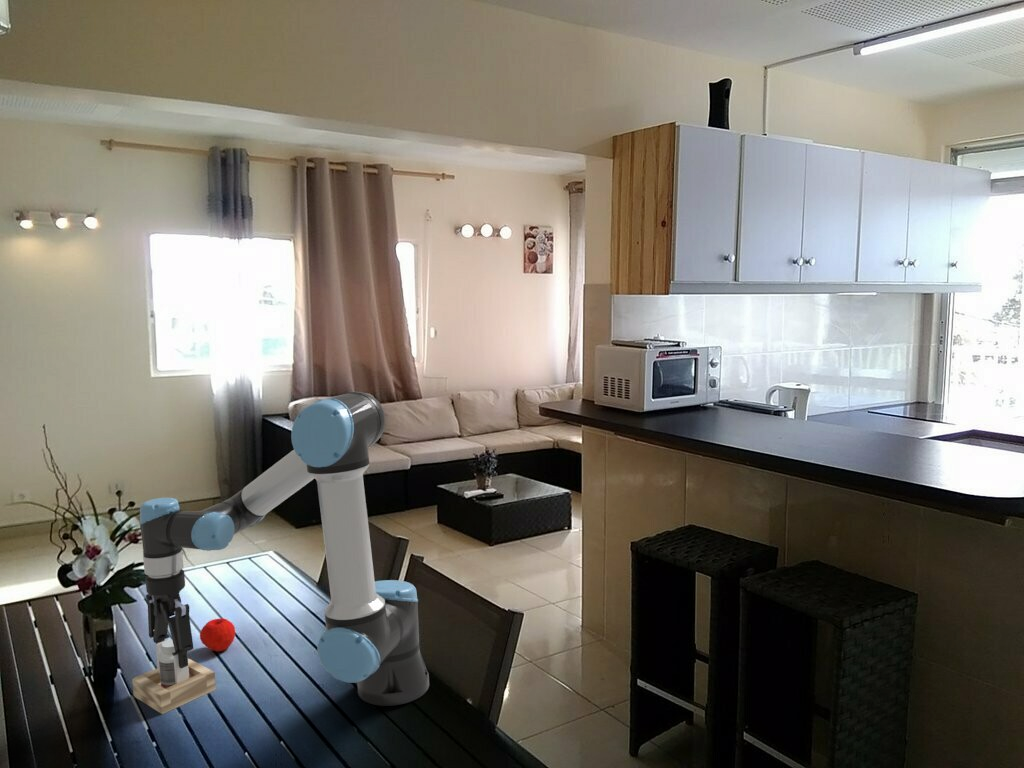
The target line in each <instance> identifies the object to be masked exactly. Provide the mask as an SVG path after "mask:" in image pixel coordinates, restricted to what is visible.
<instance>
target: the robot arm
mask: <svg viewBox="0 0 1024 768" xmlns="http://www.w3.org/2000/svg"><path fill="white" fill-rule="evenodd" d="M386 419H387V418H386V413H385V410H384V408H383V406H382V404H381V403H380V402H379V400H378V399H376V398H375V396H373V395H371V394H369V393H367V392H362V391H350V392H346V393H343V394H339V395H335V396H332V397H331V396H330V397H327V398H323V399H319V400H316V401H315V402H313V403H311V404H309V405H307V406H305V407H304V408H303V409H302V410H300V412H299V413H298V415H296V416H295V419H294V421H293V423H292V428H291V435H290V436H291V444H292V447H293V450H291V451H290V452H289V453H288V454H286V455H285V456H284V457H282V458H281V459H280V460H278V461H277V462H275V463H274V464H273V465H272V466H270V467H269V468H267V470H265V471H264V472H262V473H261V474H260V475H259V476H257V477H256V478H255V479H253V480H252V481H251V482H250V483H248V484H247V485H246V486H244V487H243V488H242V489H241V490H239V491H238V492H237V493H235V494H234V495H232V496H231V497H230V498H228V499H225V500H224V501H221V502H218V503H216V504H214V505H212V506H209V507H207V508H204V509H202V510H197V511H194V510H193V511H192V510H190V511H189V510H182V509H180V507H181V506H180V505H179V501H178V500H177V499H176V498H174V497H158V498H152V499H149V500H147V501H144V502H143V503H141V505H140V508H139V525H140V534H141V544H142V559H143V570H144V574H145V575H146V576H145V578H144V580H145V591H146V593H147V594H146V595H145V600H146V603H147V620H148V621H147V623H148V636H149V638H150V639H152V642H154V644H155V653H156V662H157V668H158V673H159V674H160V668H159V656H160V654H161V653H162V650H161V649H162V648H161V645H162V643H163V642H165V641H168V640H169V639H170V638H171V640H172V641H173V645H174V648H175V652H174V653H172V655H173V659H174V671H175V683H179V682H182V681H184V680H186V679H189V667H188V658H189V657H188V656H189V655H188V652H190V651H193V650H194V642H193V634H192V628H191V621H190V619H191V618H190V605H189V603H187V604H183V603H182V599H181V596H180V592H181V591H182V590H183V589H185V587H186V577H185V571H184V558H183V556H184V555H185V553H184V551H183V548H184V549H194V550H201V551H207V552H209V551H221V550H224V549H226V548H227V547H228V546H229V543H230V542H232V541H233V538H234V535H235V534H238V533H240V532H241V531H244V530H246V529H248V528H252V527H254V526H256V525H257V524H258V523H260V522H261V521H262V520H263V519H264V518H265V516H266V515H267V514H268V513H270V512H271V511H272V510H273V509H275V508H276V507H278V506H279V505H281V504H282V503H283V502H285V500H287V499H288V498H290V497H291V496H292V495H294V494H295V493H297V492H298V491H300V490H301V489H302V488H303V487H305V486H307V484H309V483H310V482H312V481H314V479H315V480H316V485H317V493H318V502H319V508H320V509H319V510H320V517H321V518H320V519H321V525H322V526H321V528H322V533H323V543H324V552H325V558H326V569H327V575H328V576H327V577H328V583H329V592H330V593H329V594H330V600H331V601H330V602H329V603H328V604H327V606H326V607H325V609H324V620H325V629H326V631H324V632H323V633H322V635H321V636H320V639H319V641H318V643H317V648H316V649H317V650H316V651H317V656H318V659H319V662H320V663H321V666H322V668H323V669H324V670H325V671H326V672H327V673H329V674H330V675H331V676H332V678H334V679H336V680H338V681H340V682H344V683H350V684H351V683H352V684H353V683H357V684H356V685H357V694H358V696H359V698H360V699H361V700H362V701H363V702H365V703H368V704H371V705H375V706H380V707H385V706H386V707H390V706H391V707H392V706H400V705H403V704H408V703H410V702H414V701H415V700H417V699H420V698H421V697H422V696H424V695H425V694H426V692H427V691H428V690H429V687H430V676H429V675H430V674H429V671H428V669H427V667H426V663H425V661H424V658H423V656H422V654H421V651H420V650H421V649H420V632H419V630H420V629H419V628H420V626H419V608H418V607H419V605H418V604H419V603H418V602H419V599H418V595H417V592H418V591H417V588H416V587H415V586H414V584H413V583H411V582H408V581H405V580H396V579H389V580H388V579H387V580H386V579H385V580H376V581H375V573H374V564H373V562H374V561H373V555H372V546H371V545H372V544H371V538H370V528H369V527H370V526H369V518H368V508H367V503H366V502H367V501H366V500H367V499H366V493H365V491H366V490H365V485H364V473H365V472H366V470H367V469H368V468H369V467H370V457H369V447H370V446H373V445H374V444H376V443H377V442H378V441H379V439H380V438H381V437H382V435H383V433H384V432H385V428H386V422H387V420H386ZM168 630H169V633H170V634H169V633H168ZM170 635H171V636H170Z"/></svg>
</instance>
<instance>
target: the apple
mask: <svg viewBox="0 0 1024 768" xmlns="http://www.w3.org/2000/svg"><path fill="white" fill-rule="evenodd" d="M235 628H236V627H235V625H234V624H233V623H232V622H231V621H230V620H228V619H227V618H221V617H220V618H214V619H211V620H209V621H208V622H206V623H205V625H204V626H203V627H202V628H201V630H200V633H199V639H200V641H201V643H202V644H203V645H204V646H206V647H207V649H209V650H211V651H213V652H223V651H225V650H228V648H229V647H231V645H232V644H233V642H234V640H235V637H236V629H235Z"/></svg>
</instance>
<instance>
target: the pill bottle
mask: <svg viewBox="0 0 1024 768" xmlns="http://www.w3.org/2000/svg"><path fill="white" fill-rule="evenodd" d="M167 640H168V641H165V642H163V643H162V645H161V648H162V649H161V650H162V653H161V654H160V656H159V668H160V680H161V687H163V688H168V687H170V686H172V685H175V684H177V683H175V671H174V659H173V655H172V653H174V652H175V648H174V645H173V641H172V639H167Z"/></svg>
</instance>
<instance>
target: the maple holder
mask: <svg viewBox="0 0 1024 768" xmlns="http://www.w3.org/2000/svg"><path fill="white" fill-rule="evenodd" d="M188 667H189V679H186V680H184V681H182V682H179V683H177V684H175V685H172V686H170V687H168V688H163V687H161V680H160V674H159V673H158V667H157V668H154V669H152V670H149V671H147V672H145V673H143V674H140V675H138V676H135V677H133V678H131V680H132V692H133V697H134V698H135V699H137V700H139V701H141V702H142V703H144V704H146V705H147V706H149V707H150V708H152V709H153V710H155V711H156V712H158V713H159V714H161V715H163V714H165V713H167V712H170V711H173V710H174V709H177V708H179V707H181V706H183V705H185V704H188V703H189V702H192V701H194V700H196V699H198V698H201V697H203V696H205V695H207V694H210V693H212V692H214V691H216V690H217V685H216V683H217V682H216V674H215V673H216V672H215V671H213V670H212V669H209V668H207V667H206V666H204V665H202V664H200V663H198V662H196V661H195V660H192V659H190V658H189V657H188Z"/></svg>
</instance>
